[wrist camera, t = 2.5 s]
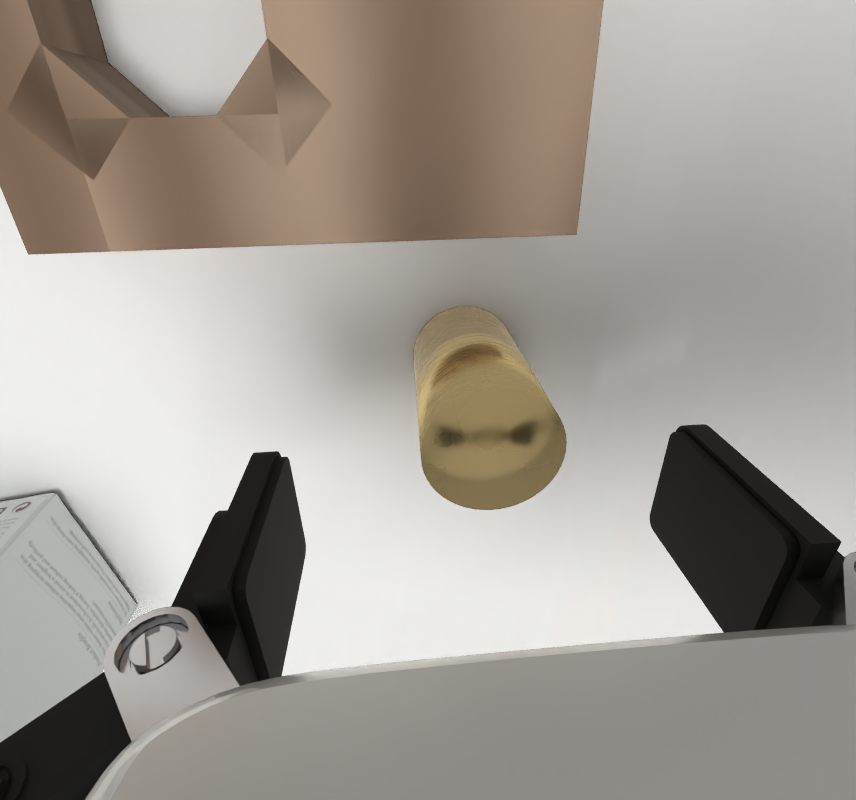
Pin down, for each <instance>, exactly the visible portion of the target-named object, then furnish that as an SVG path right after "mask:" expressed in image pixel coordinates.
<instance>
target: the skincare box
mask: <svg viewBox="0 0 856 800" xmlns="http://www.w3.org/2000/svg"><path fill="white" fill-rule="evenodd" d="M136 607H137V604H136V603H135V601H134V600H133V598H132V597H131V596H130V594H129V593H128V592H127V590H126V589H125V588H124V587H123V585H122V584H121V582H120V581H119V580H118V578H117V577H116V576H115V574H114V573H113V571H112V570H111V569H110V567H109V566H108V564H107V563H106V562H105V560H104V559H103V558H102V556H101V555H100V553H99V552H98V551H97V549H96V548H95V547H94V545H93V544H92V542H91V541H90V540H89V538H88V537H87V536H86V534H85V533H84V531H83V530H82V529H81V527H80V526H79V525H78V523H77V522H76V521H75V519H74V518H73V517H72V515H71V514H70V512H69V511H68V510H67V508H66V507H65V505H64V504H63V502H62V501H61V500H60V498H59V497H58V495H57V494H55V493H47V494H41V495H35V496H30V497H26V498H20V499H14V500H8V501H1V502H0V742H2V741H3V740H5V739H6V738H8V737H9V736H10V735H12V734H13V733H15V732H16V731H18V730H19V729H21V728H22V727H24V726H25V725H27V724H28V723H30V722H31V721H32V720H34V719H35V718H37V717H38V716H40V715H41V714H43V713H44V712H46V711H47V710H49V709H50V708H52V707H53V706H54V705H56V704H57V703H59V702H60V701H62V700H63V699H65V698H66V697H68V696H69V695H71V694H72V693H74V692H75V691H76V690H78V689H79V688H81V687H82V686H84V685H85V684H87V683H88V682H90V681H91V680H93V679H94V678H96V677H97V676H98V675H100V674H101V673H102V672H103V670H104V665H103V660H104V657H105V654H106V650H107V648H108V647H109V645H110V644H111V642H112V640H113V639H114V637H115V636H116V635H117V634H118V633H119V632H120V631H121V630H122V629H123V628H124V627H125V626H126V625H127V623H128V621H129V620H130V618H131V616H132V614H133V612H134V610H135V609H136Z"/></svg>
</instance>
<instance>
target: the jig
mask: <svg viewBox="0 0 856 800" xmlns="http://www.w3.org/2000/svg"><path fill="white" fill-rule="evenodd" d="M603 1H604V0H261V2H262V9H263V15H264V22H265V29H266V36H267V40H266V41H265V43H264V44H263V46H262V47H261V49H260V51H259V52H258V54H257V55H256V57H255V58H254V60H253V61H252V63H251V64H250V66H249V67H248V69H247V70H246V72H245V73H244V75H243V76H242V78H241V79H240V81H239V83H238V84H237V86H236V87H235V89H234V90H233V92H232V93H231V95H230V96H229V98H228V99H227V101H226V102H225V104H224V105H223V107H222V108H221V110H220V111H219V113H218V115H217V116H184V117H169V116H168V115H167V114H166V113H165V112H164V111H162V110H161V109H160V108H159V107H158V106H157V105H156V104H154V103H153V102H152V101H151V100H150V99H149V98H148V97H146V96H145V95H144V94H143V93H142V92H141V91H140V90H138V89H137V88H136V87H135V86H134V85H133V84H132V83H130V82H129V81H128V80H127V79H126V78H125V77H124V76H122V75H121V74H120V73H119V72H118V71H117V70H116V69H114V68H113V67H112V66H111V65H110V64H109V63H108V61H107V57H106V54H105V50H104V47H103V43H102V40H101V36H100V33H99V29H98V25H97V22H96V18H95V15H94V11H93V8H92V4H91V0H0V187H1V189H2V192H3V194H4V196H5V199H6V201H7V204H8V206H9V209H10V211H11V214H12V216H13V218H14V221H15V223H16V226H17V228H18V231H19V233H20V236H21V238H22V240H23V243H24V245H25V248H26V250H27V253H28V254H54V253H82V252H110V251H138V250H166V249H194V248H222V247H249V246H277V245H305V244H333V243H361V242H389V241H417V240H445V239H473V238H501V237H529V236H557V235H576V234H577V226H578V217H579V208H580V200H581V191H582V182H583V174H584V165H585V157H586V148H587V139H588V131H589V122H590V113H591V105H592V96H593V88H594V79H595V70H596V62H597V53H598V44H599V36H600V27H601V19H602V10H603Z"/></svg>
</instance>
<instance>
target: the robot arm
mask: <svg viewBox="0 0 856 800" xmlns="http://www.w3.org/2000/svg"><path fill="white" fill-rule="evenodd" d="M650 524H651V527H652V529H653V531H654V532H655V534H656V535H657V537H658V538H659V540H660V541H661V542H662V544H663V545H664V547H665V548H666V550H667V551H668V552H669V554H670V555H671V557H672V558H673V560H674V561H675V563H676V564H677V565H678V567H679V568H680V570H681V571H682V573H683V574H684V576H685V577H686V578H687V580H688V581H689V583H690V584H691V586H692V587H693V589H694V590H695V591H696V593H697V594H698V596H699V597H700V599H701V600H702V601H703V603H704V604H705V606H706V607H707V609H708V610H709V612H710V613H711V614H712V616H713V617H714V619H715V620H716V622H717V623H718V625H719V626H720V627H721V629H722V630H723V632H724V633H715V634H703V635H691V636H679V637H667V638H655V639H643V640H632V641H621V642H609V643H598V644H587V645H575V646H564V647H553V648H542V649H531V650H520V651H509V652H498V653H487V654H477V655H466V656H456V657H445V658H435V659H424V660H413V661H403V662H392V663H383V664H375V665H366V666H357V667H348V668H339V669H330V670H321V671H313V672H307V673H300V674H294V675H288V676H282V671H283V665H284V660H285V655H286V650H287V645H288V640H289V635H290V630H291V625H292V620H293V615H294V610H295V605H296V600H297V595H298V590H299V585H300V580H301V575H302V570H303V565H304V559H305V552H306V544H305V537H304V532H303V527H302V522H301V517H300V512H299V507H298V502H297V497H296V492H295V487H294V482H293V477H292V472H291V467H290V462H289V459H288V457H281V455H280V453H279V452H278V451H276V452H260V453H253V455H252V456H251V458H250V461H249V463H248V465H247V468H246V470H245V472H244V475H243V477H242V479H241V481H240V484H239V486H238V488H237V491H236V493H235V495H234V498H233V500H232V502H231V504H230V507H229V509H228V510H227V511H218V512H217V513H216V514H215V515H214V517H213V518H212V521H211V523H210V525H209V527H208V529H207V531H206V533H205V536H204V538H203V540H202V542H201V544H200V546H199V548H198V551H197V553H196V555H195V557H194V559H193V561H192V563H191V566H190V568H189V570H188V572H187V574H186V576H185V578H184V581H183V583H182V585H181V587H180V589H179V591H178V593H177V596H176V598H175V600H174V602H173V604H172V606H171V607H164V608H160V609H156V610H152V611H150V612H148V613H146V614H144V615H142V616H140V617H138V618H136V619H135V620H134V621H132V622H131V623H129V624H128V625H126V626H125V627H124V628H123V629H122V630H121V631H120V632H119V633H118V634H117V635H116V636H115V637H114V639H113V640H112V642H111V644H110V645H109V647H108V648H107V650H106V654H105V657H104V660H103V665H104V672H103V673H101V674H100V675H98V676H97V677H96V678H94V679H93V680H91V681H90V682H88V683H87V684H85V685H84V686H82V687H81V688H79V689H78V690H76V691H75V692H74V693H72V694H71V695H69V696H68V697H66V698H65V699H63V700H62V701H60V702H59V703H57V704H56V705H54V706H53V707H52V708H50V709H49V710H47V711H46V712H44V713H43V714H41V715H40V716H38V717H37V718H35V719H34V720H32V721H31V722H30V723H28V724H27V725H25V726H24V727H22V728H21V729H19V730H18V731H16V732H15V733H13V734H12V735H10V736H9V737H8V738H6V739H5V740H3V741H2V742H0V800H856V552H853V553H850V554H849V555H847V556H846V557H843V556H842V555H841V554H840V553H839V552H838V551H837V550H838V548H839V546H840V544H841V541H840V540H839V539H838V538H836V537H835V536H834V535H833V534H832V533H831V532H830V531H828V530H827V529H826V528H825V527H824V526H823V525H822V524H820V523H819V522H818V521H817V520H816V519H815V518H814V517H812V516H811V515H810V514H809V513H808V512H807V511H805V510H804V509H803V508H802V507H801V506H800V505H799V504H797V503H796V502H795V501H794V500H793V499H792V498H791V497H789V496H788V495H787V494H786V493H785V492H784V491H782V490H781V489H780V488H779V487H778V486H777V485H776V484H774V483H773V482H772V481H771V480H770V479H769V478H768V477H766V476H765V475H764V474H763V473H762V472H761V471H759V470H758V469H757V468H756V467H755V466H754V465H753V464H751V463H750V462H749V461H748V460H747V459H746V458H745V457H743V456H742V455H741V454H740V453H739V452H738V451H737V450H735V449H734V448H733V447H732V446H731V445H730V444H728V443H727V442H726V441H725V440H724V439H723V438H722V437H720V436H719V435H718V434H717V433H716V432H715V431H714V430H712V429H711V428H710V427H709V426H707V425H703V424H701V425H685V426H680V427H679V428H678V429H677V430H676V432H673V433H672V434H671V435H670V438H669V442H668V446H667V450H666V454H665V457H664V461H663V465H662V469H661V473H660V477H659V481H658V485H657V489H656V493H655V497H654V501H653V505H652V509H651V513H650Z"/></svg>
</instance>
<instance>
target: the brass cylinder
mask: <svg viewBox="0 0 856 800" xmlns="http://www.w3.org/2000/svg"><path fill="white" fill-rule="evenodd" d="M414 368H415V382H416V396H417V410H418V424H419V438H420V452H421V462H422V467H423V471H424V474H425V476H426V478H427V480H428V481H429V483H430V484H431V486H432V487H433V488H434V489H435V490H436V491H437V492H438V493H439V494H440V495H441V496H443V497H444V498H446V499H447V500H449V501H451V502H453V503H455V504H457V505H460V506H463V507H467V508H472V509H479V510H493V509H501V508H506V507H510V506H513V505H516V504H519V503H521V502H524V501H526V500H528V499H529V498H531V497H533V496H535V495H536V494H537V493H539V492H540V491H541V490H543V489H544V488H545V487H546V486H547V485H548V484H549V483H550V482H551V481H552V479H553V478H554V477H555V475H556V474H557V473H558V471H559V469H560V467H561V465H562V462H563V460H564V456H565V452H566V433H565V430H564V426H563V424H562V422H561V419H560V417H559V416H558V414H557V412H556V411H555V409H554V407H553V406H552V404H551V402H550V401H549V399H548V397H547V396H546V394H545V392H544V390H543V389H542V387H541V385H540V384H539V382H538V380H537V379H536V377H535V375H534V374H533V372H532V370H531V369H530V367H529V365H528V364H527V362H526V360H525V358H524V357H523V355H522V353H521V352H520V350H519V348H518V347H517V345H516V343H515V342H514V340H513V338H512V337H511V335H510V333H509V331H508V330H507V328H506V327H505V325H504V324H503V323H502V322H501V320H500V319H498V318H497V317H496V316H495V315H493V314H492V313H490V312H488V311H486V310H484V309H480V308H477V307H468V306H463V307H455V308H451V309H448V310H445V311H443V312H441V313H439V314H437V315H436V316H435V317H433V318H432V319H431V320H430V321H429V322H427V324H426V325H425V326H424V327H423V328H422V330H421V332H420V333H419V335H418V337H417V340H416V343H415V347H414Z"/></svg>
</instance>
